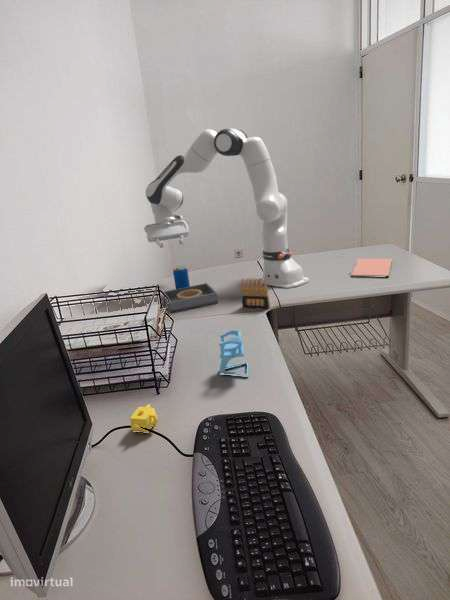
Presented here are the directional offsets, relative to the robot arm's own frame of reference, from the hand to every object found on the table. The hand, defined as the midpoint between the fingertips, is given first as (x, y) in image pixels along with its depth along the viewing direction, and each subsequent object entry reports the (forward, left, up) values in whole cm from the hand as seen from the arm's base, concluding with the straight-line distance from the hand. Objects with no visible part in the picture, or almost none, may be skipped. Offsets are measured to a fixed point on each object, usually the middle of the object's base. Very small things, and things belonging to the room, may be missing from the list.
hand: (171, 245), depth 190 cm
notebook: (-58, -72, -21) cm, 94 cm away
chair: (-85, +30, -20) cm, 93 cm away
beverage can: (-12, +4, -20) cm, 24 cm away
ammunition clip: (-52, -6, -20) cm, 57 cm away
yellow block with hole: (-91, +60, -20) cm, 112 cm away
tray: (-25, +8, -20) cm, 33 cm away
